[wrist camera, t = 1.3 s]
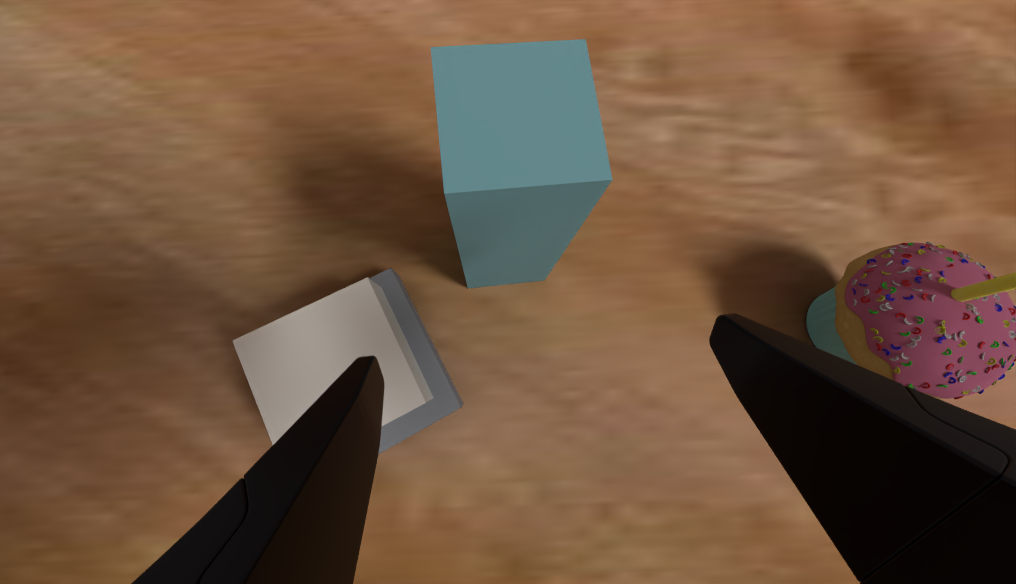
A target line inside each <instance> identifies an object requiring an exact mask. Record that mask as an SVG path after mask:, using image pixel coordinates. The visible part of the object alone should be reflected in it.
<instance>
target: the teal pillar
mask: <svg viewBox="0 0 1016 584" xmlns="http://www.w3.org/2000/svg"><path fill="white" fill-rule="evenodd" d="M431 55H432V66H433V77H434V88H435V99H436V110H437V121H438V131H439V142H440V153H441V164H442V175H443V186H444V195H445V199H446V203H447V207H448V211H449V215H450V219H451V223H452V227H453V231H454V235H455V239H456V243H457V247H458V251H459V255H460V259H461V263H462V267H463V271H464V275H465V279H466V283H467V287H468V288H476V287H486V286H495V285H505V284H515V283H524V282H534V281H543V280H545V279H546V277H547V276H548V274H549V273H550V271H551V270H552V268H553V267H554V265H555V264H556V262H557V261H558V260H559V258H560V257H561V255H562V254H563V252H564V251H565V249H566V248H567V246H568V245H569V243H570V242H571V240H572V239H573V237H574V236H575V234H576V233H577V231H578V230H579V228H580V227H581V225H582V224H583V223H584V221H585V220H586V218H587V217H588V215H589V214H590V212H591V211H592V209H593V208H594V206H595V205H596V203H597V202H598V200H599V199H600V197H601V196H602V194H603V193H604V191H605V190H606V188H607V187H608V185H609V184H610V183H611V181H612V175H611V170H610V165H609V159H608V154H607V149H606V144H605V138H604V133H603V128H602V123H601V118H600V112H599V107H598V102H597V97H596V91H595V86H594V81H593V76H592V70H591V65H590V60H589V55H588V49H587V44H586V39H584V40H564V41H544V42H524V43H505V44H485V45H465V46H445V47H431Z"/></svg>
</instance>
